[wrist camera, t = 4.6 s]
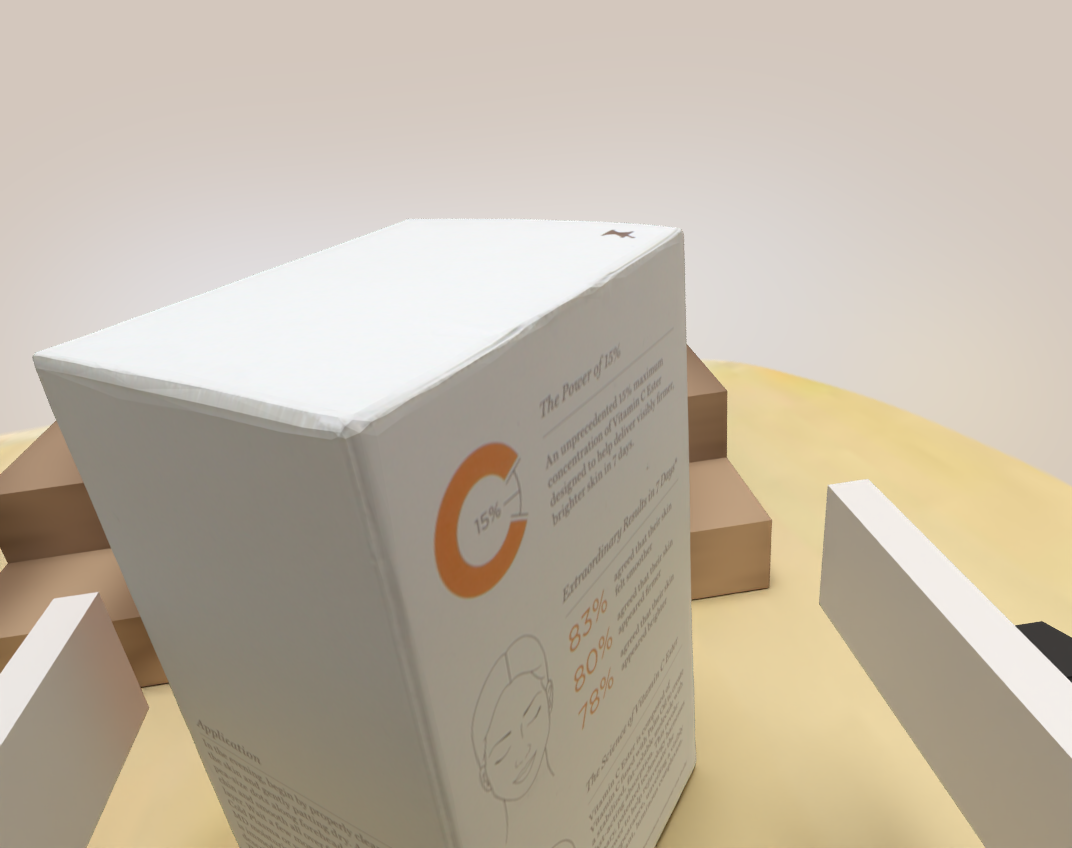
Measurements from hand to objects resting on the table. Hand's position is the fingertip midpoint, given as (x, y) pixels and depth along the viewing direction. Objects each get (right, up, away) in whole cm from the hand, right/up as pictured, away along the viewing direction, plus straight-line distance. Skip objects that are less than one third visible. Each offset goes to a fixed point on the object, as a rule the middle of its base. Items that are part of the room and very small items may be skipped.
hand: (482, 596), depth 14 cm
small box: (0, -6, +3) cm, 7 cm away
